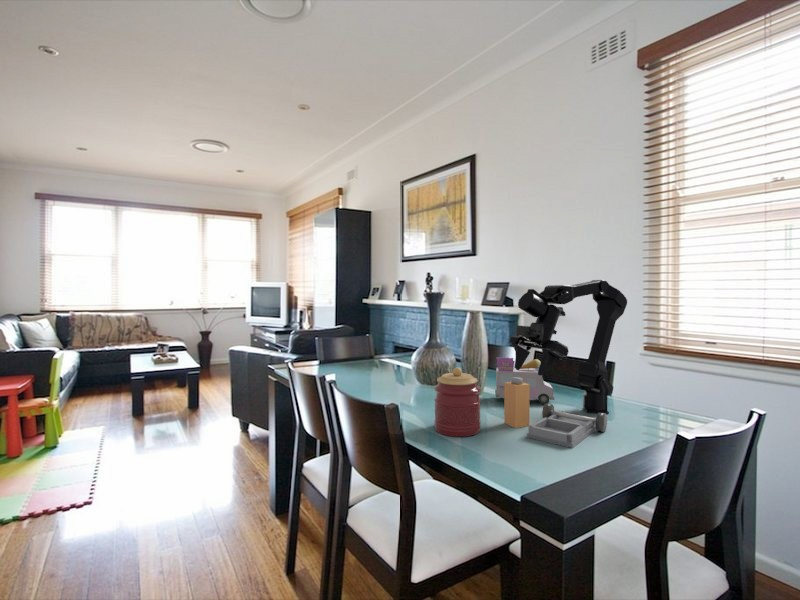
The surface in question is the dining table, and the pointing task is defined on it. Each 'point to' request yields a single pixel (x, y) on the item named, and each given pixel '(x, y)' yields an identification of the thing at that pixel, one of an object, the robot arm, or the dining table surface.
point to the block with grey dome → (516, 402)
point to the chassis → (565, 427)
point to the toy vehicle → (529, 375)
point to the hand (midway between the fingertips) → (527, 372)
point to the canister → (457, 404)
